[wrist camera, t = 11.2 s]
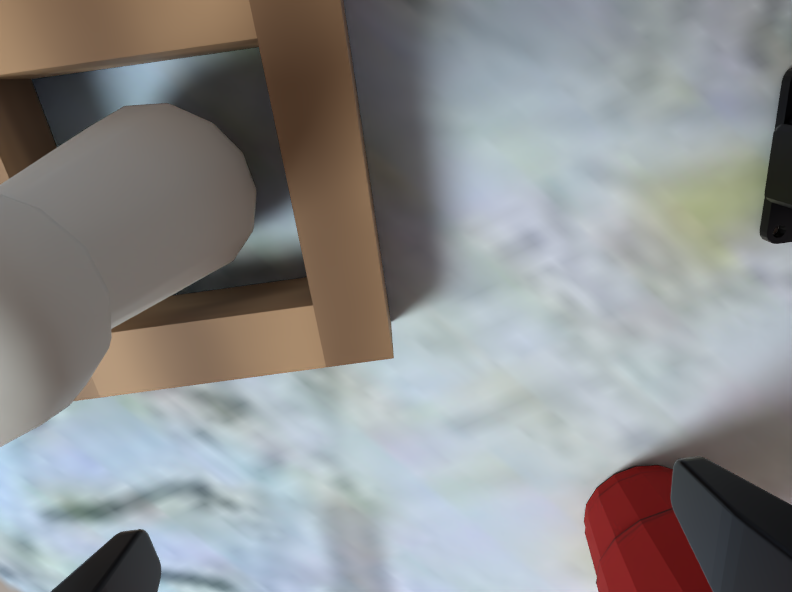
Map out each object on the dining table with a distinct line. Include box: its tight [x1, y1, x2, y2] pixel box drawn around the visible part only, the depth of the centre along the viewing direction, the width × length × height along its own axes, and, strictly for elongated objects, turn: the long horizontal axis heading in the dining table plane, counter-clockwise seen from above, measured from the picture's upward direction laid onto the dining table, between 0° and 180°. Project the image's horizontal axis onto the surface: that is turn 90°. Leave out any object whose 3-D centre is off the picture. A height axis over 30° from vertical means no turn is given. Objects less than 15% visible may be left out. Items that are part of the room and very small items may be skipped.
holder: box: [0, 0, 394, 401], centre depth 18 cm, size 13×13×3 cm
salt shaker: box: [0, 103, 257, 447], centre depth 13 cm, size 6×6×13 cm
